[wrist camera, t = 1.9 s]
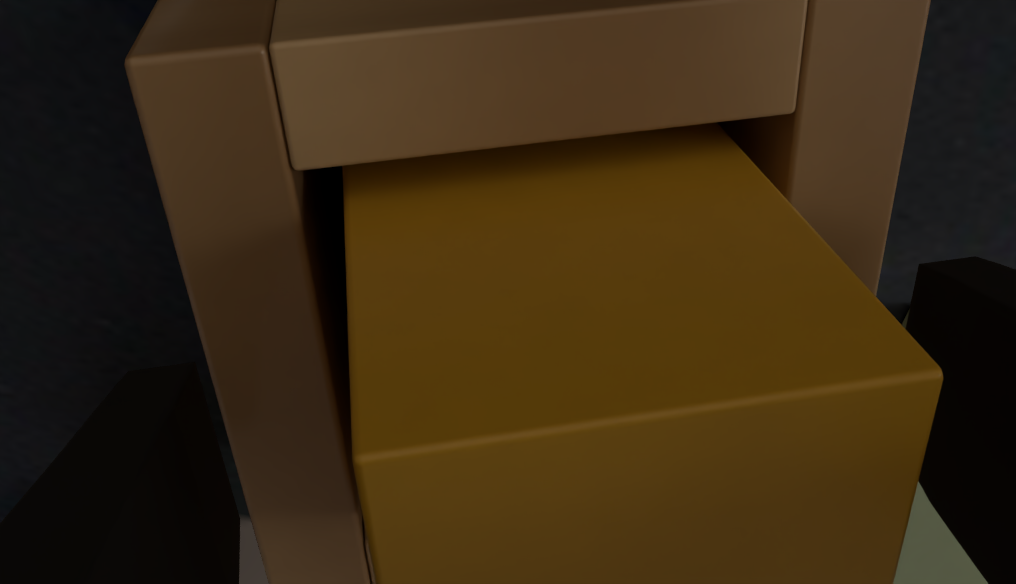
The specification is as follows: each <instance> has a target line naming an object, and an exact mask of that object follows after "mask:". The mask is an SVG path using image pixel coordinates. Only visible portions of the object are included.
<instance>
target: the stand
mask: <svg viewBox="0 0 1016 584" xmlns="http://www.w3.org/2000/svg"><path fill="white" fill-rule="evenodd" d="M930 1H931V0H158V1H157V2H156V4H155V6H154V8H153V10H152V11H151V13H150V15H149V17H148V19H147V20H146V22H145V24H144V26H143V28H142V29H141V31H140V33H139V35H138V37H137V38H136V40H135V42H134V44H133V46H132V47H131V49H130V51H129V53H128V55H127V57H126V58H125V65H124V67H125V70H126V74H127V78H128V81H129V85H130V88H131V92H132V95H133V99H134V103H135V106H136V110H137V113H138V117H139V120H140V124H141V128H142V131H143V135H144V138H145V142H146V146H147V149H148V153H149V156H150V160H151V163H152V167H153V171H154V174H155V178H156V181H157V185H158V189H159V192H160V196H161V199H162V203H163V206H164V210H165V214H166V217H167V221H168V224H169V228H170V232H171V235H172V239H173V242H174V246H175V249H176V253H177V257H178V260H179V264H180V267H181V271H182V274H183V278H184V282H185V285H186V289H187V292H188V296H189V300H190V303H191V307H192V310H193V314H194V317H195V321H196V325H197V328H198V332H199V335H200V339H201V343H202V346H203V350H204V353H205V357H206V360H207V364H208V368H209V371H210V375H211V378H212V382H213V386H214V389H215V393H216V396H217V400H218V403H219V407H220V411H221V414H222V418H223V421H224V425H225V429H226V432H227V436H228V439H229V443H230V446H231V450H232V454H233V457H234V461H235V464H236V468H237V471H238V475H239V479H240V482H241V486H242V489H243V493H244V497H245V500H246V504H247V507H248V511H249V514H250V518H251V522H252V525H253V529H254V532H255V536H256V540H257V543H258V547H259V550H260V554H261V557H262V561H263V565H264V568H265V572H266V575H267V579H268V582H269V584H376V583H375V578H374V573H373V568H372V562H371V557H370V552H369V547H368V541H367V536H366V531H365V525H364V520H363V515H362V510H361V504H360V499H359V494H358V489H357V483H356V478H355V473H354V467H353V462H352V437H351V407H350V378H349V348H348V323H347V317H346V312H345V306H344V300H343V295H342V289H341V283H340V277H339V272H338V266H337V260H336V255H335V249H334V243H333V237H332V232H331V226H330V220H329V215H328V209H327V203H326V197H325V192H324V186H323V180H322V175H321V169H320V168H326V167H335V166H344V165H352V164H361V163H370V162H378V161H387V160H396V159H404V158H413V157H421V156H430V155H439V154H447V153H456V152H465V151H473V150H482V149H491V148H499V147H508V146H516V145H525V144H534V143H542V142H551V141H560V140H568V139H577V138H586V137H594V136H603V135H611V134H620V133H629V132H637V131H646V130H655V129H663V128H672V127H681V126H689V125H698V124H706V123H715V122H717V124H718V125H719V126H720V127H721V128H722V129H723V130H724V131H725V132H726V133H727V135H728V136H729V137H730V138H731V139H732V140H733V141H734V142H735V143H736V144H737V145H738V147H739V148H740V149H741V150H742V151H743V152H744V153H745V154H746V155H747V156H748V157H749V159H750V160H751V161H752V162H753V163H754V164H755V165H756V166H757V167H758V168H759V170H760V171H761V172H762V173H763V174H764V175H765V176H766V177H767V178H768V179H769V180H770V182H771V183H772V184H773V185H774V186H775V187H776V188H777V189H778V190H779V191H780V193H781V194H782V195H783V196H784V197H785V198H786V199H787V200H788V201H789V202H790V203H791V205H792V206H793V207H794V208H795V209H796V210H797V211H798V212H799V213H800V214H801V216H802V217H803V218H804V219H805V220H806V221H807V222H808V223H809V224H810V225H811V226H812V228H813V229H814V230H815V231H816V232H817V233H818V234H819V235H820V236H821V237H822V238H823V240H824V241H825V242H826V243H827V244H828V245H829V246H830V247H831V248H832V249H833V251H834V252H835V253H836V254H837V255H838V256H839V257H840V258H841V259H842V260H843V261H844V263H845V264H846V265H847V266H848V267H849V268H850V269H851V270H852V271H853V272H854V274H855V275H856V276H857V277H858V278H859V279H860V280H861V281H862V282H863V283H864V284H865V286H866V287H867V288H868V289H869V290H870V291H871V292H872V293H873V294H874V295H875V297H876V292H877V287H878V281H879V276H880V271H881V265H882V260H883V254H884V249H885V244H886V238H887V233H888V227H889V222H890V217H891V211H892V206H893V200H894V195H895V190H896V184H897V179H898V173H899V168H900V163H901V157H902V152H903V146H904V141H905V136H906V130H907V125H908V120H909V114H910V109H911V103H912V98H913V93H914V87H915V82H916V76H917V71H918V66H919V60H920V55H921V49H922V44H923V39H924V33H925V28H926V22H927V17H928V12H929V6H930Z"/></svg>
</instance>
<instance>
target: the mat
mask: <svg viewBox="0 0 1016 584" xmlns="http://www.w3.org/2000/svg"><path fill="white" fill-rule="evenodd" d="M909 310H910V309H909ZM908 315H909V311H908V313H907V315H906V317H905V319H904V321H903V323H902V326H903V327H904V328H905V329H906V324H907V320H908ZM893 584H988V583H987V581H986V580H985V579H984V577H983V576H982V574H981V573H980V572H979V570H978V569H977V568H976V566H975V565H974V563H973V562H972V561H971V559H970V558H969V556H968V555H967V554H966V552H965V551H964V550H963V548H962V547H961V545H960V544H959V543H958V541H957V540H956V538H955V537H954V536H953V534H952V533H951V531H950V530H949V529H948V527H947V526H946V524H945V523H944V522H943V520H942V519H941V517H940V516H939V514H938V513H937V512H936V510H935V509H934V507H933V506H932V504H931V503H930V501H929V499H928V498H927V496H926V494H925V492H924V490H923V489H922V487H921V485H920V483H919V482H918V484H917V488H916V492H915V496H914V500H913V504H912V509H911V513H910V517H909V521H908V525H907V529H906V533H905V537H904V541H903V545H902V549H901V554H900V558H899V562H898V566H897V570H896V574H895V578H894V582H893Z"/></svg>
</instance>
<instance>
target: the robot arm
mask: <svg viewBox="0 0 1016 584" xmlns="http://www.w3.org/2000/svg"><path fill="white" fill-rule="evenodd" d="M906 330H907V332H908V333H909V334H910V335H911V336H912V337H913V338H914V339H915V340H916V341H917V342H918V344H919V345H920V346H921V347H922V348H923V349H924V350H925V351H926V352H927V353H928V355H929V356H930V357H931V358H932V359H933V360H934V361H935V362H936V363H937V364H938V365H939V367H940V368H941V370H942V373H943V382H942V386H941V390H940V394H939V398H938V402H937V406H936V410H935V415H934V419H933V423H932V427H931V431H930V435H929V439H928V443H927V447H926V451H925V455H924V460H923V464H922V468H921V472H920V476H919V480H918V482H919V483H920V485H921V487H922V489H923V490H924V492H925V494H926V496H927V498H928V499H929V501H930V503H931V504H932V506H933V507H934V509H935V510H936V512H937V513H938V514H939V516H940V517H941V519H942V520H943V522H944V523H945V524H946V526H947V527H948V529H949V530H950V531H951V533H952V534H953V536H954V537H955V538H956V540H957V541H958V543H959V544H960V545H961V547H962V548H963V550H964V551H965V552H966V554H967V555H968V556H969V558H970V559H971V561H972V562H973V563H974V565H975V566H976V568H977V569H978V570H979V572H980V573H981V574H982V576H983V577H984V579H985V580H986V581H987V583H988V584H1016V270H1015V269H1012V268H1009V267H1006V266H1004V265H1001V264H998V263H995V262H991V261H988V260H985V259H982V258H979V257H968V258H961V259H953V260H946V261H939V262H931V263H924V264H919V267H918V272H917V277H916V281H915V286H914V291H913V296H912V300H911V305H910V310H909V315H908V320H907V324H906ZM239 550H240V517H239V514H238V510H237V507H236V503H235V500H234V496H233V493H232V490H231V486H230V483H229V479H228V476H227V472H226V469H225V465H224V462H223V458H222V455H221V451H220V448H219V444H218V441H217V437H216V434H215V430H214V427H213V423H212V420H211V417H210V413H209V410H208V406H207V403H206V399H205V396H204V392H203V389H202V385H201V382H200V378H199V375H198V371H197V368H196V364H195V362H192V363H185V364H177V365H170V366H162V367H155V368H148V369H140V370H133V371H128V372H127V373H126V374H125V375H124V377H123V378H122V379H121V380H120V381H119V382H118V383H117V385H116V386H115V387H114V388H113V389H112V391H111V392H110V393H109V394H108V395H107V397H106V398H105V399H104V400H103V401H102V403H101V404H100V405H99V406H98V407H97V409H96V410H95V411H94V412H93V413H92V415H91V416H90V417H89V418H88V419H87V421H86V422H85V423H84V424H83V426H82V427H81V428H80V429H79V430H78V432H77V433H76V434H75V435H74V436H73V438H72V439H71V440H70V441H69V443H68V444H67V445H66V446H65V447H64V449H63V450H62V451H61V452H60V453H59V455H58V456H57V457H56V458H55V459H54V461H53V462H52V463H51V464H50V466H49V467H48V468H47V469H46V470H45V472H44V473H43V474H42V475H41V476H40V478H39V479H38V480H37V481H36V482H35V483H34V485H33V486H32V487H31V488H30V489H29V490H28V492H27V493H26V494H25V495H24V496H23V497H22V499H21V500H20V501H19V502H18V503H17V504H16V506H15V507H14V508H13V509H12V510H11V511H10V513H9V514H8V515H7V516H6V517H5V518H4V519H3V521H2V522H1V523H0V584H239V552H240V551H239Z"/></svg>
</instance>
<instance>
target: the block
mask: <svg viewBox="0 0 1016 584" xmlns="http://www.w3.org/2000/svg"><path fill="white" fill-rule="evenodd" d="M342 171H343V201H344V230H345V260H346V289H347V319H348V348H349V378H350V407H351V437H352V462H353V467H354V473H355V478H356V483H357V489H358V494H359V499H360V504H361V510H362V515H363V520H364V525H365V531H366V536H367V541H368V547H369V552H370V557H371V562H372V568H373V573H374V578H375V583H376V584H893V582H894V578H895V574H896V570H897V566H898V562H899V558H900V554H901V549H902V545H903V541H904V537H905V533H906V529H907V525H908V521H909V517H910V513H911V509H912V504H913V500H914V496H915V492H916V488H917V484H918V480H919V476H920V472H921V468H922V464H923V460H924V455H925V451H926V447H927V443H928V439H929V435H930V431H931V427H932V423H933V419H934V415H935V410H936V406H937V402H938V398H939V394H940V390H941V386H942V382H943V373H942V370H941V368H940V367H939V365H938V364H937V363H936V362H935V361H934V360H933V359H932V358H931V357H930V356H929V355H928V353H927V352H926V351H925V350H924V349H923V348H922V347H921V346H920V345H919V344H918V342H917V341H916V340H915V339H914V338H913V337H912V336H911V335H910V334H909V333H908V332H907V330H906V329H905V328H904V327H903V326H902V325H901V324H900V323H899V322H898V321H897V319H896V318H895V317H894V316H893V315H892V314H891V313H890V312H889V311H888V310H887V309H886V307H885V306H884V305H883V304H882V303H881V302H880V301H879V300H878V299H877V298H876V297H875V295H874V294H873V293H872V292H871V291H870V290H869V289H868V288H867V287H866V286H865V284H864V283H863V282H862V281H861V280H860V279H859V278H858V277H857V276H856V275H855V274H854V272H853V271H852V270H851V269H850V268H849V267H848V266H847V265H846V264H845V263H844V261H843V260H842V259H841V258H840V257H839V256H838V255H837V254H836V253H835V252H834V251H833V249H832V248H831V247H830V246H829V245H828V244H827V243H826V242H825V241H824V240H823V238H822V237H821V236H820V235H819V234H818V233H817V232H816V231H815V230H814V229H813V228H812V226H811V225H810V224H809V223H808V222H807V221H806V220H805V219H804V218H803V217H802V216H801V214H800V213H799V212H798V211H797V210H796V209H795V208H794V207H793V206H792V205H791V203H790V202H789V201H788V200H787V199H786V198H785V197H784V196H783V195H782V194H781V193H780V191H779V190H778V189H777V188H776V187H775V186H774V185H773V184H772V183H771V182H770V180H769V179H768V178H767V177H766V176H765V175H764V174H763V173H762V172H761V171H760V170H759V168H758V167H757V166H756V165H755V164H754V163H753V162H752V161H751V160H750V159H749V157H748V156H747V155H746V154H745V153H744V152H743V151H742V150H741V149H740V148H739V147H738V145H737V144H736V143H735V142H734V141H733V140H732V139H731V138H730V137H729V136H728V135H727V133H726V132H725V131H724V130H723V129H722V128H721V127H720V126H719V125H718V124H717V122H715V123H706V124H698V125H689V126H681V127H672V128H663V129H655V130H646V131H637V132H629V133H620V134H611V135H603V136H594V137H586V138H577V139H568V140H560V141H551V142H542V143H534V144H525V145H516V146H508V147H499V148H491V149H482V150H473V151H465V152H456V153H447V154H439V155H430V156H421V157H413V158H404V159H396V160H387V161H378V162H370V163H361V164H352V165H344V166H342Z"/></svg>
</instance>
